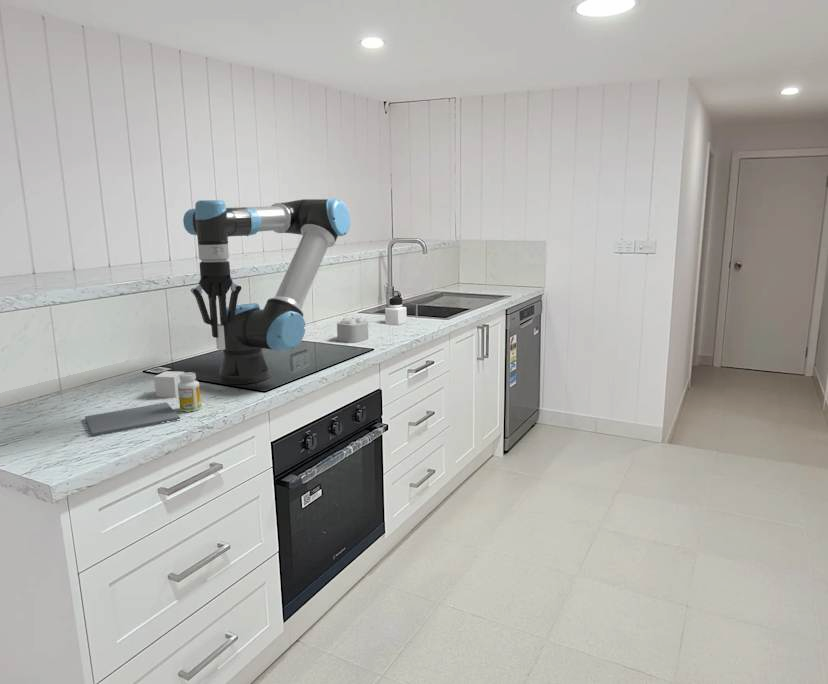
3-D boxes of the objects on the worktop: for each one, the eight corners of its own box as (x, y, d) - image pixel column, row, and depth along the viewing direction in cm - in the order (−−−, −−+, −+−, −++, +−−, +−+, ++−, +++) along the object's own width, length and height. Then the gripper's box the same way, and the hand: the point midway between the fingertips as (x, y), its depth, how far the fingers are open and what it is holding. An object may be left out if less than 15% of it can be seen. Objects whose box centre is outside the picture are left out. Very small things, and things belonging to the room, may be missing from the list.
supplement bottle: (194, 404, 172) (191, 370, 170) (205, 408, 169) (202, 373, 167) (176, 409, 168) (172, 374, 166) (187, 413, 165) (183, 377, 163)
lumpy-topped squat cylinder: (334, 341, 251) (333, 319, 249) (354, 335, 261) (353, 314, 259) (354, 343, 245) (353, 321, 243) (374, 337, 255) (374, 316, 254)
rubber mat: (166, 405, 173) (166, 402, 172) (180, 420, 160) (179, 417, 160) (85, 419, 162) (84, 416, 162) (92, 436, 150) (92, 433, 149)
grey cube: (156, 397, 181) (154, 376, 179) (167, 391, 186) (164, 371, 185) (176, 397, 180) (173, 377, 178) (186, 391, 186) (184, 371, 184)
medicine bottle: (407, 322, 286) (406, 296, 283) (398, 325, 280) (397, 298, 278) (393, 321, 290) (393, 295, 287) (385, 324, 284) (384, 297, 281)
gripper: (192, 263, 159) (200, 354, 164) (243, 260, 166) (249, 348, 171) (185, 261, 165) (192, 349, 170) (234, 258, 172) (240, 343, 177)
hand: (221, 348), depth 170 cm, fingers closed
